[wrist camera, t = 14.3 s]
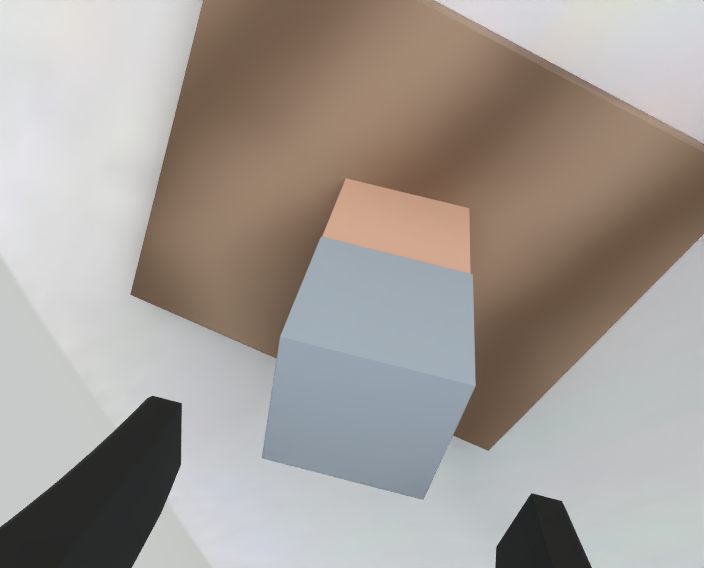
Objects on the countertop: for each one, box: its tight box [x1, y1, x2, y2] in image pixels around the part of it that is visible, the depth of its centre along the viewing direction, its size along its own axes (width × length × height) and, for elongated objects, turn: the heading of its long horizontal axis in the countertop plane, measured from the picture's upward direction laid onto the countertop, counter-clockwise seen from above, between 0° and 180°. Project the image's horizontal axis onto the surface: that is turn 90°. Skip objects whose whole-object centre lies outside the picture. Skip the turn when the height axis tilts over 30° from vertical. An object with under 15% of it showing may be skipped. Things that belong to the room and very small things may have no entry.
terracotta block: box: [322, 179, 471, 274], centre depth 17 cm, size 4×4×4 cm
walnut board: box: [131, 0, 704, 451], centre depth 20 cm, size 16×14×1 cm
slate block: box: [262, 237, 476, 500], centre depth 14 cm, size 4×4×4 cm
